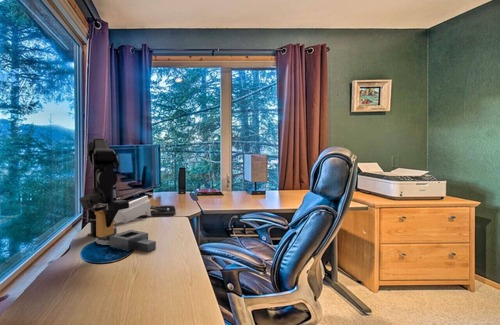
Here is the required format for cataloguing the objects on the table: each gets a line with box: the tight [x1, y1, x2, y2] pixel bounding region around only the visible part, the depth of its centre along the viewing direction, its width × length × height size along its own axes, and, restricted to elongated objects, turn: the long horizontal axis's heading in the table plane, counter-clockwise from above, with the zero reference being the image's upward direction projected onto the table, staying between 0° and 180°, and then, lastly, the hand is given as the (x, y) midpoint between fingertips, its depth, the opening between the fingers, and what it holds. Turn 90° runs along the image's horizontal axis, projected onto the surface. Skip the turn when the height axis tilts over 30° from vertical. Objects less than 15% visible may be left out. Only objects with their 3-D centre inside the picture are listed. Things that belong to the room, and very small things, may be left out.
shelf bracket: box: [114, 195, 152, 224], centre depth 152 cm, size 6×25×13 cm, turn 148°
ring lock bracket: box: [95, 225, 157, 253], centre depth 114 cm, size 28×11×6 cm, turn 64°
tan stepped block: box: [95, 210, 115, 238], centre depth 104 cm, size 3×6×9 cm, turn 155°
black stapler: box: [150, 204, 177, 217], centre depth 167 cm, size 9×7×25 cm
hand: (105, 226), depth 104 cm, fingers closed on tan stepped block, 3 cm apart
